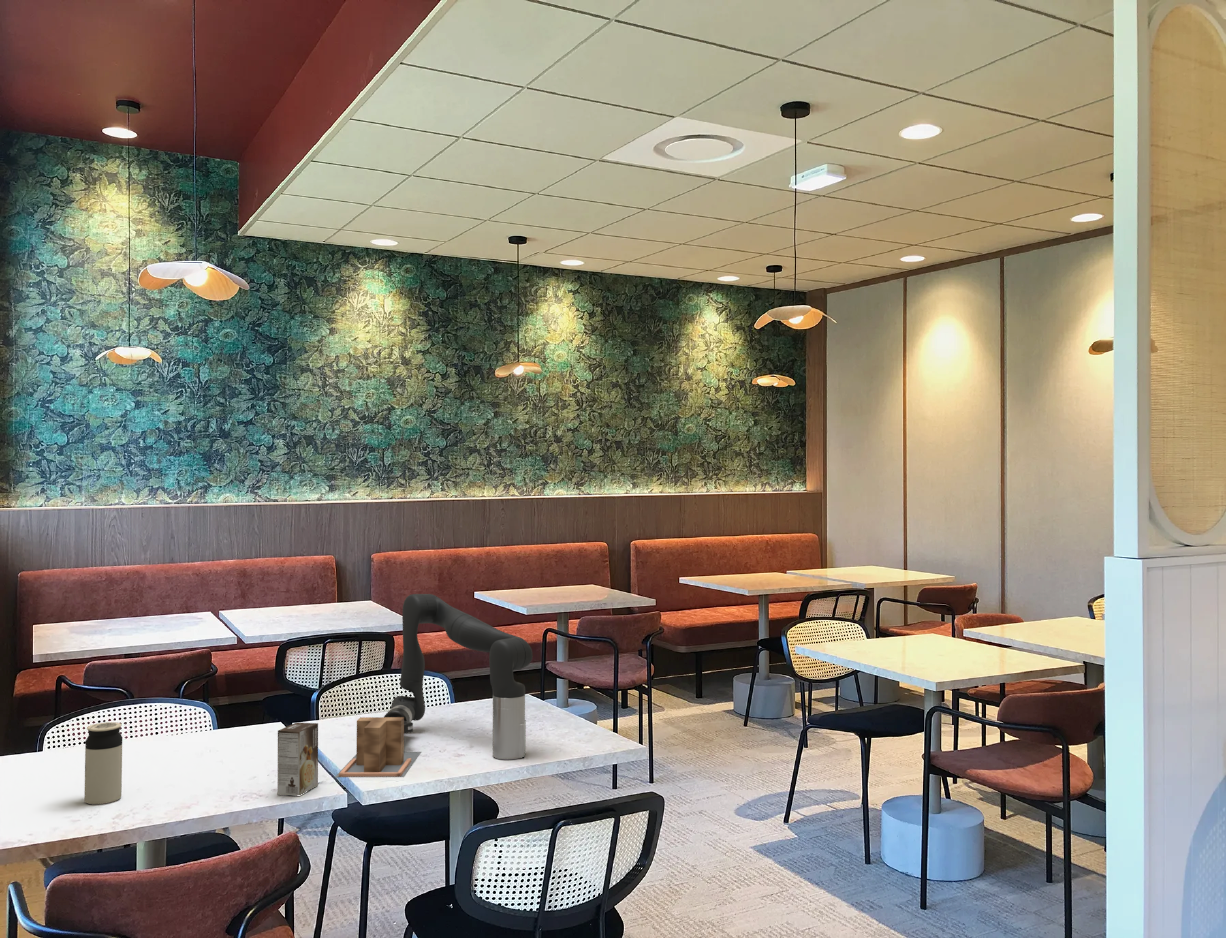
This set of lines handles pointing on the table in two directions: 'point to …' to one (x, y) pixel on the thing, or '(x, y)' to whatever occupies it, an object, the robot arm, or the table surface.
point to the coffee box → (297, 758)
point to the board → (387, 771)
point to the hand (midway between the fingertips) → (385, 734)
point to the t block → (379, 742)
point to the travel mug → (103, 763)
